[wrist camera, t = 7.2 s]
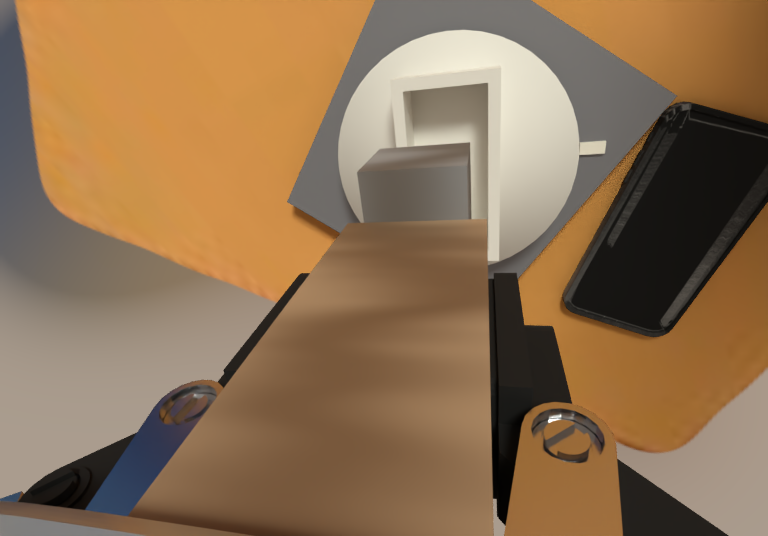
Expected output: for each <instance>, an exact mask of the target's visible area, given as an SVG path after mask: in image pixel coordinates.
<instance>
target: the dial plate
mask: <svg viewBox="0 0 768 536" xmlns="http://www.w3.org/2000/svg"><path fill="white" fill-rule="evenodd" d="M452 30H472V31H482V32H487V33H491V34H495V35H499V36H502V37H504V38H506V39H509V40H511V41H514V42H516V43H518V44H519V45H521V46H523V47H524V48H526V49H528V50H529V51H531V52H532V53H533V54H535V55H536V56H537V57H538V58H539V59H541V60H542V61H543V62H544V63H545V64H546V65H547V66H548V67H549V68H550V70H551V71H552V72H553V73H554V74H555V75H556V76H557V78H558V80H559V81H560V83H561V84H562V86H563V88H564V89H565V91H566V93H567V95H568V97H569V99H570V102H571V104H572V106H573V109H574V113H575V117H576V121H577V125H578V133H579V161H578V167H577V173H576V177H575V180H574V183H573V186H572V190H571V192H570V194H569V196H568V198H567V201H566V203H565V205H564V206H563V208H562V209H561V211H560V213H559V214H558V216H557V217H556V219H555V220H554V221H553V222H552V224H551V225H550V226H549V227H548V229H547V230H546V231H545V232H544V233H543V234H542V235H540V236H539V237H538V238H537V239H536V240H535V241H534V242H533V243H531V244H530V245H529V246H527V247H526V248H525V249H523V250H521V251H520V252H518V253H516V254H514V255H513V256H511V257H509V258H506V259H504V260H502V261H500V262H497V263H494V264H490V265H488V279H494V273H517V278H519V277H520V276H521V274H522V273H523V272H524V271H525V270H526V269H527V268H528V266H529V265H530V264H531V263H532V262H533V261H534V260H535V258H536V257H537V256H538V255H539V254H540V253H541V252H542V250H543V249H544V248H545V247H546V246H547V245H548V243H549V242H550V241H551V240H552V239H553V238H554V237H555V235H556V234H557V233H558V232H559V231H560V230H561V229H562V227H563V226H564V225H565V224H566V223H567V222H568V221H569V219H570V218H571V217H572V216H573V215H574V214H575V213H576V211H577V210H578V209H579V208H580V207H581V206H582V204H583V203H584V202H585V201H586V200H587V199H588V198H589V196H590V195H591V194H592V193H593V192H594V191H595V190H596V188H597V187H598V186H599V185H600V184H601V183H602V182H603V180H604V179H605V178H606V177H607V176H608V175H609V174H610V172H611V171H612V170H613V169H614V168H615V167H616V165H617V164H618V163H619V162H620V161H621V160H622V159H623V157H624V156H625V155H626V154H627V153H628V152H629V151H630V149H631V148H632V147H633V146H634V145H635V144H636V143H637V141H638V140H639V139H640V138H641V137H642V136H643V135H644V133H645V132H646V131H647V130H648V129H649V128H650V126H651V125H652V124H653V123H654V122H655V121H656V120H657V118H658V117H659V116H660V115H661V114H662V113H663V112H664V110H665V109H666V108H667V107H668V106H669V105H670V104H671V102H672V101H673V100H674V99H675V98H676V97H677V95H675V94H674V93H672V92H670V91H669V90H667V89H666V88H664V87H663V86H661V85H660V84H658V83H657V82H655V81H654V80H652V79H651V78H649V77H648V76H646V75H644V74H643V73H641V72H640V71H638V70H637V69H635V68H634V67H632V66H631V65H629V64H628V63H626V62H625V61H623V60H622V59H620V58H618V57H617V56H615V55H614V54H612V53H611V52H609V51H608V50H606V49H605V48H603V47H602V46H600V45H599V44H597V43H595V42H594V41H592V40H591V39H589V38H588V37H586V36H585V35H583V34H582V33H580V32H579V31H577V30H576V29H574V28H573V27H571V26H569V25H568V24H566V23H565V22H563V21H562V20H560V19H559V18H557V17H556V16H554V15H553V14H551V13H550V12H548V11H547V10H545V9H543V8H542V7H540V6H539V5H537V4H536V3H534V2H533V1H531V0H375V2H374V4H373V7H372V9H371V11H370V13H369V16H368V18H367V20H366V23H365V25H364V27H363V29H362V32H361V34H360V36H359V39H358V41H357V43H356V45H355V48H354V50H353V52H352V55H351V57H350V59H349V62H348V64H347V66H346V68H345V71H344V73H343V75H342V78H341V80H340V82H339V84H338V87H337V89H336V91H335V94H334V96H333V98H332V100H331V103H330V105H329V107H328V110H327V112H326V114H325V117H324V119H323V121H322V123H321V126H320V128H319V130H318V133H317V135H316V137H315V139H314V142H313V144H312V146H311V149H310V151H309V153H308V155H307V158H306V160H305V162H304V165H303V167H302V169H301V172H300V174H299V176H298V178H297V181H296V183H295V185H294V188H293V190H292V192H291V194H290V197H289V199H288V201H287V202H288V203H290V204H292V205H293V206H295V207H297V208H298V209H300V210H302V211H303V212H305V213H307V214H309V215H310V216H312V217H314V218H315V219H317V220H319V221H320V222H322V223H324V224H326V225H327V226H329V227H331V228H332V229H334V230H336V231H337V232H339V233H341V232H342V230H343V229H344V228H345V226H346V225H347V224H348V223H361V222H360V221H359V219H358V218H357V216H356V215H355V213H354V212H353V210H352V208H351V206H350V204H349V202H348V200H347V197H346V194H345V191H344V189H343V186H342V181H341V177H340V172H339V162H338V142H339V136H340V129H341V125H342V122H343V118H344V115H345V112H346V109H347V107H348V105H349V102H350V100H351V98H352V96H353V94H354V93H355V91H356V89H357V88H358V86H359V84H360V83H361V82H362V80H363V79H364V78H365V77H366V75H367V74H368V73H369V72H370V71H371V70H372V69H373V68H374V67H375V66H376V65H377V64H378V63H379V62H380V61H381V60H382V59H383V58H385V57H386V56H387V55H389V54H390V53H391V52H393V51H394V50H396V49H397V48H399V47H401V46H403V45H405V44H406V43H408V42H410V41H412V40H415V39H418V38H420V37H423V36H426V35H429V34H433V33H438V32H443V31H452Z"/></svg>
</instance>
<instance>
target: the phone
mask: <svg viewBox="0 0 768 536" xmlns="http://www.w3.org/2000/svg"><path fill="white" fill-rule="evenodd" d="M623 182H624V183H623V184H622V186H621V188H620V190H619V192H618V194H617V195H616V197H615V199H614V201H613V203H612V204H611V206H610V208H609V210H608V212H607V214H606V215H605V217H604V219H603V221H602V223H601V224H600V226H599V228H598V230H597V232H596V234H595V235H594V237H593V239H592V241H591V243H590V244H589V246H588V248H587V250H586V252H585V254H584V255H583V257H582V259H581V261H580V263H579V264H578V266H577V268H576V270H575V272H574V274H573V275H572V277H571V279H570V281H569V283H568V284H567V286H566V288H565V290H564V293H563V300H564V303H565V306H566V308H567V309H568V310H569V311H571V312H573V313H575V314H578V315H581V316H585V317H588V318H591V319H594V320H597V321H601V322H604V323H607V324H610V325H613V326H617V327H620V328H623V329H626V330H629V331H633V332H636V333H639V334H642V335H645V336H650V337H659V336H663V335H665V334H667V333H669V332H670V331H671V330H672V329H673V327H674V326H675V325H676V323H677V322H678V321H679V319H680V318H681V317H682V315H683V314H684V313H685V311H686V310H687V309H688V307H689V306H690V305H691V303H692V302H693V301H694V299H695V298H696V297H697V295H698V294H699V293H700V291H701V290H702V289H703V287H704V286H705V285H706V283H707V282H708V281H709V279H710V278H711V277H712V275H713V274H714V273H715V271H716V270H717V269H718V267H719V266H720V265H721V263H722V262H723V261H724V259H725V258H726V257H727V255H728V254H729V253H730V251H731V250H732V249H733V247H734V246H735V245H736V243H737V242H738V241H739V239H740V238H741V237H742V235H743V234H744V233H745V231H746V230H747V229H748V227H749V226H750V225H751V223H752V222H753V221H754V219H755V218H756V217H757V215H758V214H759V213H760V211H761V210H762V209H763V207H764V206H765V204H766V203H767V202H768V124H767V123H763V122H760V121H756V120H752V119H749V118H745V117H742V116H738V115H734V114H731V113H727V112H724V111H720V110H716V109H713V108H709V107H706V106H702V105H698V104H695V103H691V102H680V103H676V104H674V105H672V106H670V107H668V108H667V109H666V110H665V111H664V112H663V113H662V114H661V116H660V117H659V119H658V121H657V123H656V124H655V126H654V128H653V130H652V132H651V133H650V135H649V137H648V138H647V140H646V143H645V144H644V146H643V148H642V150H641V151H640V152H639V154H638V156H637V158H636V160H635V161H634V163H633V166H632V168H631V169H630V170H629V172H628V174H627V175H626V177H625V179H624V181H623Z"/></svg>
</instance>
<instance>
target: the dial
mask: <svg viewBox="0 0 768 536" xmlns="http://www.w3.org/2000/svg"><path fill="white" fill-rule="evenodd" d="M467 142H470V164H471V215H472V219H487V250H488V265H490V264H494V263H497V262H500V261H502V260H504V259H506V258H509V257H511V256H513V255H514V254H516V253H518V252H520V251H521V250H523V249H525V248H526V247H527V246H529V245H530V244H531V243H533V242H534V241H535V240H536V239H537V238H538V237H539V236H540V235H542V234H543V233H544V232H545V231H546V230H547V229H548V227H549V226H550V225H551V224H552V222H553V221H554V220H555V219H556V217H557V216H558V214H559V213H560V211H561V209H562V208H563V206H564V205H565V203H566V201H567V198H568V196H569V194H570V192H571V190H572V186H573V183H574V180H575V177H576V173H577V167H578V161H579V133H578V125H577V121H576V117H575V113H574V109H573V106H572V104H571V102H570V99H569V97H568V95H567V93H566V91H565V89H564V88H563V86H562V84H561V83H560V81H559V80H558V78H557V76H556V75H555V74H554V73H553V72H552V71H551V70H550V68H549V67H548V66H547V65H546V64H545V63H544V62H543V61H542V60H541V59H539V58H538V57H537V56H536V55H535V54H533V53H532V52H531V51H529V50H528V49H526V48H524V47H523V46H521V45H519V44H518V43H516V42H514V41H511V40H509V39H506V38H504V37H502V36H499V35H495V34H491V33H487V32H482V31H472V30H452V31H443V32H438V33H433V34H429V35H426V36H423V37H420V38H418V39H415V40H412V41H410V42H408V43H406V44H405V45H403V46H401V47H399V48H397V49H396V50H394V51H393V52H391V53H390V54H389V55H387V56H386V57H385V58H383V59H382V60H381V61H380V62H379V63H378V64H377V65H376V66H375V67H374V68H373V69H372V70H371V71H370V72H369V73H368V74H367V75H366V77H365V78H364V79H363V80H362V82H361V83H360V84H359V86H358V88H357V89H356V91H355V93H354V94H353V96H352V98H351V100H350V102H349V105H348V107H347V109H346V112H345V115H344V118H343V122H342V125H341V129H340V136H339V142H338V162H339V172H340V177H341V181H342V186H343V189H344V191H345V194H346V197H347V200H348V202H349V204H350V206H351V208H352V210H353V212H354V213H355V215H356V216H357V218H358V219H359V221H360V222H361V223H364V219H363V212H362V205H361V198H360V190H359V183H358V176H357V172H358V171H359V169H360V168H361V167H362V166H363V165H364V164H365V163H366V162H367V161H368V160H369V159H370V158H371V157H372V156H373V155H374V154H375V153H376V152H377V151H378V150H379V149H384V148H398V147H412V146H425V145H439V144H453V143H467Z"/></svg>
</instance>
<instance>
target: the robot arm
mask: <svg viewBox="0 0 768 536" xmlns="http://www.w3.org/2000/svg"><path fill="white" fill-rule="evenodd" d="M309 274H310V273H301V274H300V275H299V276H298V277H297V278H296V280H295V281H294V282H293V283H292V285H291V286H290V287H289V288H288V290H287V291H286V292H285V293H284V295H283V296H282V297H281V298H280V300H279V301H278V302H277V303H276V305H275V306H274V307H273V309H272V310H271V311H270V312H269V314H268V315H267V316H266V317H265V319H264V320H263V321H262V322H261V324H260V325H259V326H258V327H257V329H256V330H255V331H254V333H253V334H252V335H251V336H250V338H249V339H248V340H247V341H246V342H245V344H244V345H243V346H242V347H241V349H240V350H239V351H238V353H237V354H236V355H235V356H234V358H233V359H232V360H231V362H230V363H229V364H228V365H227V366H226V368H225V369H224V375H223V376H222V377H221V379H220V380H219V381H218V382H215V381H212V380H198V381H193V382H190V383H187V384H184V385H181V386H179V387H178V388H176V389H174V390H172V391H170V393H168V394H167V395H165V396H164V397H163V398H162V399H161V400H160V401H159V402H158V403H157V404H156V406H155V407H154V408H153V410H152V411H151V413H150V414H149V416H148V417H147V419H146V420H145V422H144V423H143V425H142V426H141V428H140V429H139V431H138V432H137V433H135V434H133V435H130V436H128V437H126V438H124V439H122V440H120V441H117V442H115V443H113V444H111V445H109V446H107V447H104V448H102V449H100V450H98V451H96V452H94V453H91V454H89V455H87V456H85V457H83V458H81V459H78V460H76V461H74V462H72V463H70V464H67V465H65V466H63V467H61V468H59V469H57V470H55V471H53V472H52V473H50V474H48V475H47V476H45V477H43V478H42V479H41V480H40V481H38V482H37V483H35V484H34V485H33V486H32V487H31V488H30V489H29V490H28V491H27V492H26V493H25V494H24V493H23V492H22V491H21V492H18V493H15V494H12V495H9V496H6V497H4V498H1V499H0V536H252V535H246V534H239V533H233V532H226V531H220V530H214V529H207V528H201V527H194V526H187V525H181V524H174V523H167V522H161V521H154V520H147V519H141V518H134V517H127V516H128V515H129V513H130V512H131V511H132V509H133V508H134V507H135V505H136V504H137V503H138V501H139V500H140V499H141V497H142V496H143V495H144V493H145V492H146V491H147V489H148V488H149V487H150V486H151V484H152V483H153V482H154V480H155V479H156V478H157V476H158V475H159V474H160V472H161V471H162V470H163V468H164V467H165V466H166V464H167V463H168V462H169V460H170V459H171V458H172V456H173V455H174V454H175V452H176V451H177V450H178V448H179V447H180V446H181V444H182V443H183V442H184V440H185V439H186V438H187V436H188V435H189V434H190V432H191V431H192V430H193V428H194V427H195V426H196V424H197V423H198V422H199V420H200V419H201V418H202V416H203V415H204V414H205V412H206V411H207V410H208V408H209V407H210V406H211V404H212V403H213V402H214V400H215V399H216V398H217V396H218V395H219V394H220V392H221V391H222V390H223V388H224V387H225V386H226V384H227V383H228V382H229V380H230V379H231V378H232V376H233V375H234V374H235V373H236V371H237V370H238V369H239V367H240V366H241V365H242V363H243V362H244V361H245V359H246V358H247V357H248V355H249V354H250V353H251V351H252V350H253V349H254V347H255V346H256V345H257V343H258V342H259V341H260V339H261V338H262V337H263V335H264V334H265V333H266V331H267V330H268V329H269V327H270V326H271V325H272V323H273V322H274V321H275V319H276V318H277V317H278V315H279V314H280V313H281V311H282V310H283V309H284V307H285V306H286V305H287V303H288V302H289V301H290V299H291V298H292V297H293V295H294V294H295V293H296V291H297V290H298V289H299V287H300V286H301V285H302V283H303V282H304V281H305V279H306V278H307V277H308V275H309ZM488 297H489V344H490V391H491V438H492V485H493V499H497V517H499V519H500V520H501V521H502V523H504V524H505V526H506V527H505V534H504V536H728V535H727V534H725V533H724V532H723V531H721V530H720V529H718V528H717V527H715V526H714V525H712V524H711V523H709V522H708V521H707V520H705V519H704V518H702V517H701V516H699V515H698V514H696V513H695V512H693V511H692V510H691V509H689V508H688V507H686V506H685V505H683V504H682V503H681V502H679V501H678V500H676V499H675V498H673V497H672V496H670V495H669V494H667V493H666V492H664V491H663V490H662V489H660V488H659V487H657V486H656V485H654V484H653V483H652V482H650V481H649V480H647V479H646V478H644V477H643V476H641V475H640V474H639V473H637V472H636V471H634V470H633V469H631V468H630V467H628V466H627V465H625V464H624V463H622V462H621V461H620V460H618V459H617V451H616V443H615V439H614V436H613V433H612V431H611V430H610V429H609V427H608V426H607V424H606V423H605V422H604V421H603V420H602V419H600V418H599V417H598V416H597V415H596V414H594V413H592V412H590V411H588V410H587V409H585V408H583V407H580V406H577V405H573V404H572V401H571V397H570V393H569V389H568V385H567V381H566V377H565V373H564V369H563V364H562V360H561V356H560V352H559V348H558V344H557V340H556V336H555V332H554V329H553V327H552V326H533V325H524V319H523V313H522V306H521V299H520V292H519V285H518V278H517V273H494V279H488Z"/></svg>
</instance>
